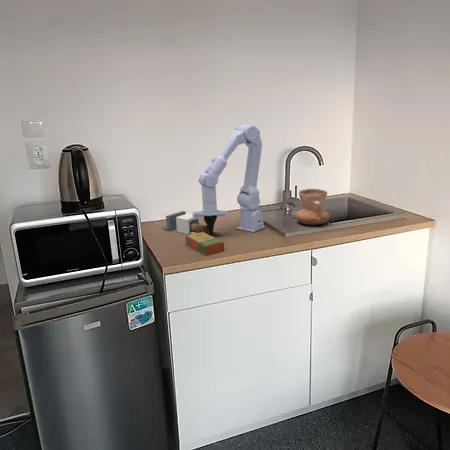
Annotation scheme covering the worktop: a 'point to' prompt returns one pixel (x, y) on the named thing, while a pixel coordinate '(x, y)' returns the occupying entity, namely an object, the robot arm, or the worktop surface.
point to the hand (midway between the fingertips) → (211, 233)
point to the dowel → (199, 228)
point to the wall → (172, 221)
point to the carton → (204, 243)
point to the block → (186, 222)
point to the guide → (213, 232)
